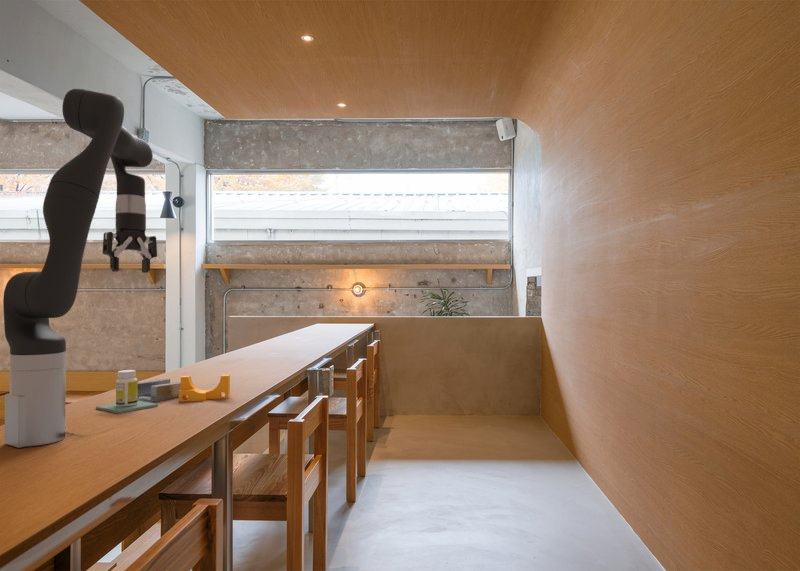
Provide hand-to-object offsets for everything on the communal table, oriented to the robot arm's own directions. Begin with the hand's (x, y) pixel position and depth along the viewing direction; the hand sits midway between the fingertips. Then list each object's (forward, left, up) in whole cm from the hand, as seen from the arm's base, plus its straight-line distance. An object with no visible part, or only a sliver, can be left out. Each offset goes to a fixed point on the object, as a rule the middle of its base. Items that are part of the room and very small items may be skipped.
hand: (130, 272), depth 152 cm
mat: (-9, -14, -34) cm, 38 cm away
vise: (+4, -8, -34) cm, 35 cm away
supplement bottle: (-9, -14, -34) cm, 38 cm away
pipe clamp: (+7, -22, -34) cm, 42 cm away
